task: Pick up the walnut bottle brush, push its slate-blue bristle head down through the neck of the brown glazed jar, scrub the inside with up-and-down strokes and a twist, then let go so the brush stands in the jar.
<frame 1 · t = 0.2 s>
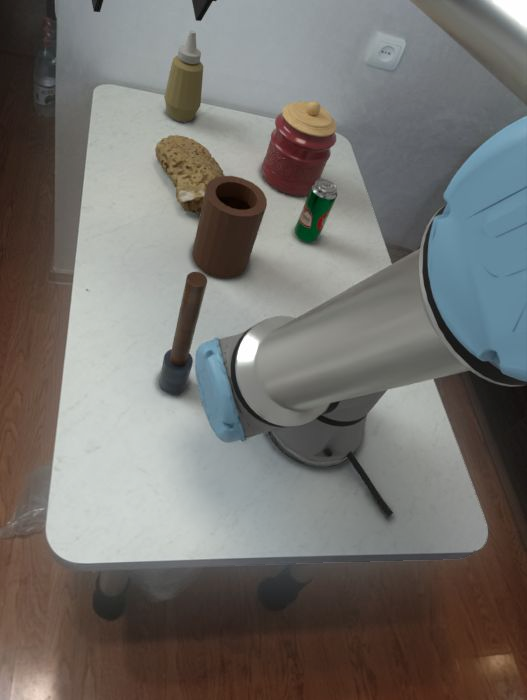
hand: (147, 6, 70), 36 cm above the table, tool tilted 35°, fingers open, 13 cm apart
squeeze bottle: (180, 115, 122), on the table
soda can: (305, 236, 107), on the table
sponge: (188, 187, 107), on the table
kitchen canister: (288, 179, 118), on the table
jar: (219, 258, 97), on the table
brush: (172, 383, 79), on the table
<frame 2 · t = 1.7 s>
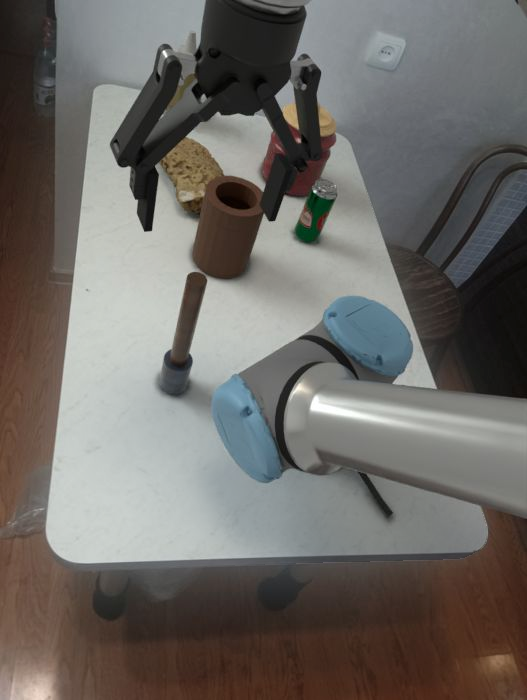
hand: (208, 217, 56), 31 cm above the table, tool pointing down, fingers open, 13 cm apart
nothing on the table moved.
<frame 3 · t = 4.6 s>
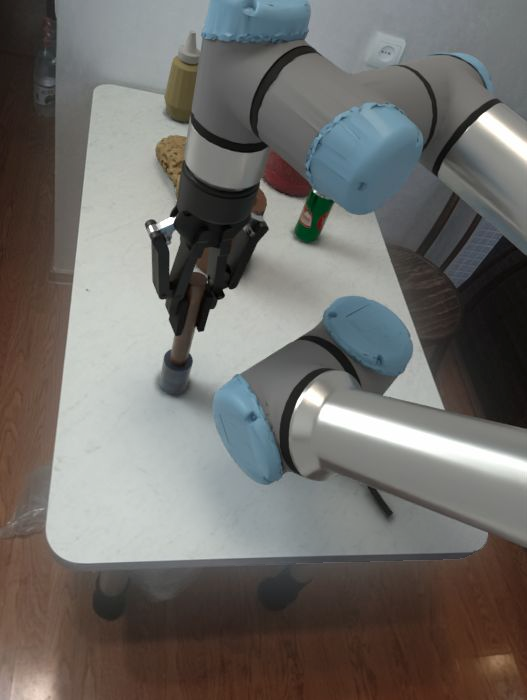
hand: (186, 325, 68), 14 cm above the table, tool pointing down, fingers closed on brush, 2 cm apart
brush: (172, 383, 79), on the table, touching gripper
everything else where it was.
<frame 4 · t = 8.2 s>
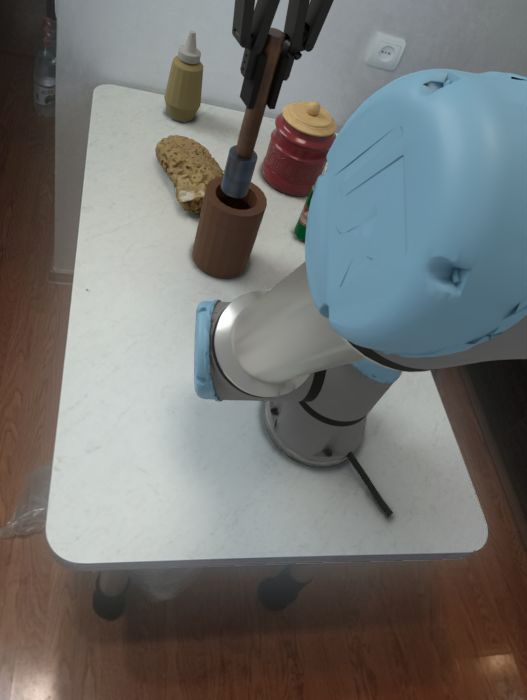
hand: (257, 102, 68), 33 cm above the table, tool pointing down, fingers closed on brush, 2 cm apart
brush: (234, 189, 78), point 19 cm above the table, touching gripper
everything else where it was.
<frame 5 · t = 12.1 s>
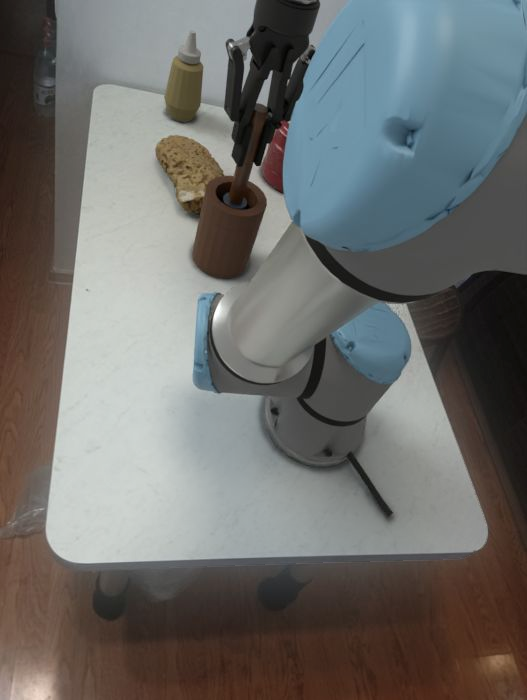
hand: (245, 160, 81), 20 cm above the table, tool pointing down, fingers closed on brush, 2 cm apart
brush: (227, 228, 92), point 7 cm above the table, touching gripper
everything else where it was.
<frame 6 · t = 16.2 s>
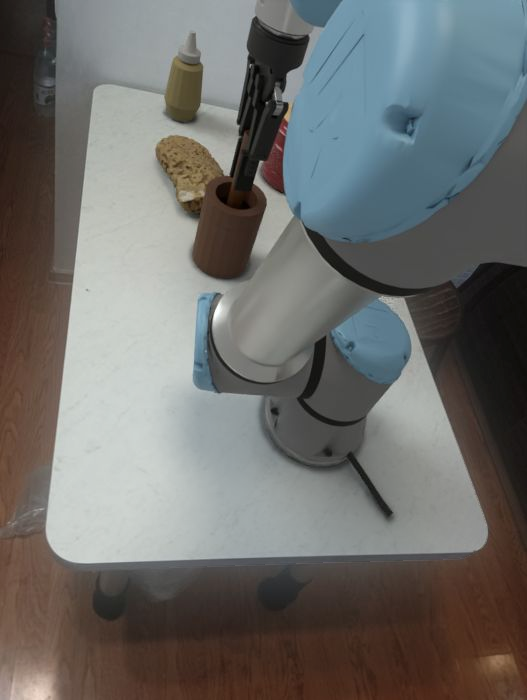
hand: (240, 182, 84), 16 cm above the table, tool pointing down, fingers closed on brush, 2 cm apart
brush: (222, 246, 95), point 3 cm above the table, touching gripper
everything else where it was.
when the fingers open (14 cm above the table, at t = 19.6 s): brush stays where it is, resting on jar.
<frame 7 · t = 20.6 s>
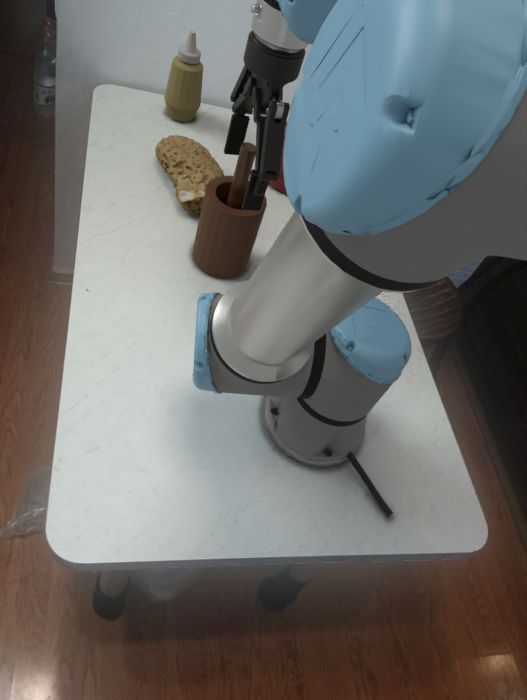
hand: (240, 180, 84), 17 cm above the table, tool pointing down, fingers open, 13 cm apart
brush: (220, 254, 96), point 1 cm above the table, touching jar
everything else where it was.
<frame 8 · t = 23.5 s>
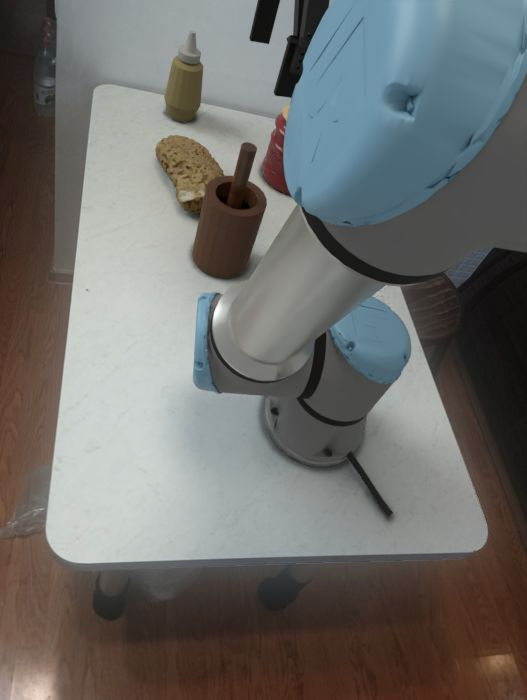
hand: (271, 67, 70), 35 cm above the table, tool pointing down, fingers open, 13 cm apart
nothing on the table moved.
at the end: brush 0.1 cm off-centre in the jar, point 0.8 cm above the jar's base; brush tilted 0°; the gripper is holding nothing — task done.
